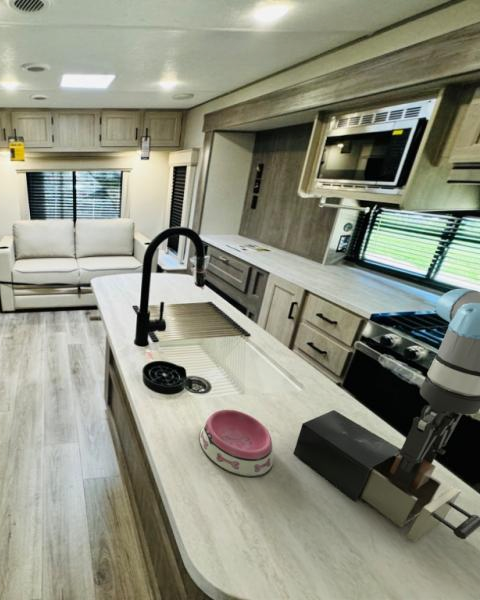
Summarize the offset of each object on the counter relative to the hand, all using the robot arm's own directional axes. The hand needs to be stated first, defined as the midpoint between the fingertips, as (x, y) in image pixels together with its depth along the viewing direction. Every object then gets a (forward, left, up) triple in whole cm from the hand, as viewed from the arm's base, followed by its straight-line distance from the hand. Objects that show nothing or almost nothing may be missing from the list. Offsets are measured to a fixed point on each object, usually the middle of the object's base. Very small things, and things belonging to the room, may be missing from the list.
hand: (409, 475), depth 66 cm
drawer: (-1, 0, -9) cm, 9 cm away
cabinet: (+11, 0, -10) cm, 15 cm away
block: (0, 0, 0) cm, 0 cm away
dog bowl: (+26, +19, -10) cm, 34 cm away
